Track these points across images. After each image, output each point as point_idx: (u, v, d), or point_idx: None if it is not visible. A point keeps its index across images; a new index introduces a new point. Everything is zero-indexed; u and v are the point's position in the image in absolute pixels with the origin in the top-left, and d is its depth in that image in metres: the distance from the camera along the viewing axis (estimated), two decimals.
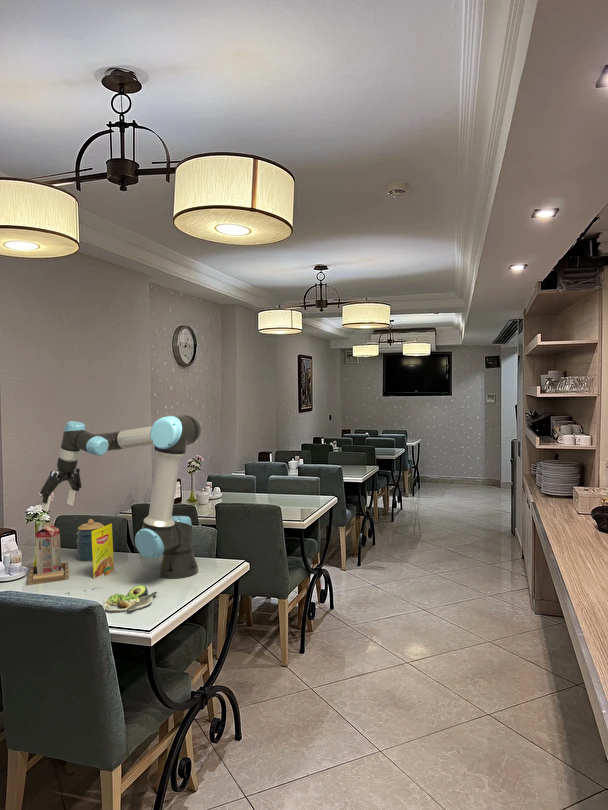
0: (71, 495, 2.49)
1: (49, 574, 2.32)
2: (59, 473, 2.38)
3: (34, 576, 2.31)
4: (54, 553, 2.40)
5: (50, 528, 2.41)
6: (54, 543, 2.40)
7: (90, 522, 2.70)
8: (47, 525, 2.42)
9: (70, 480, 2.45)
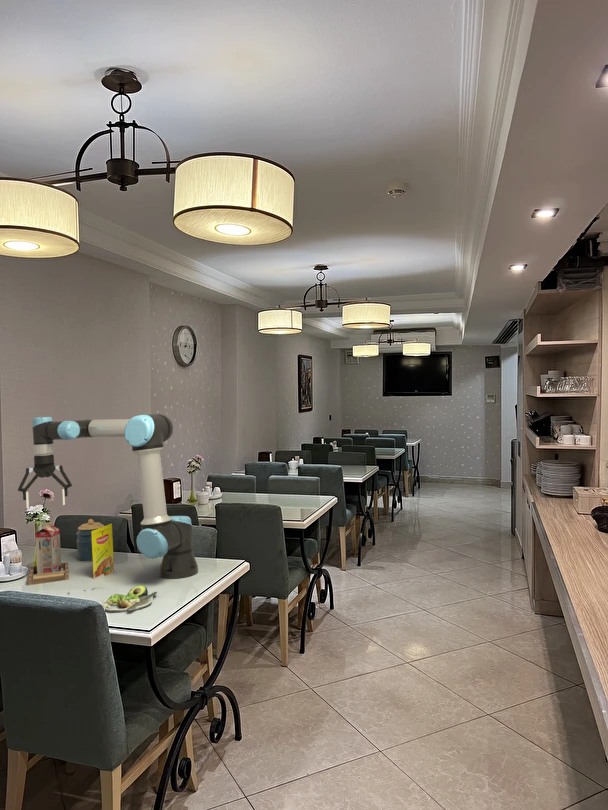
0: None
1: (49, 574, 2.32)
2: (33, 469, 2.40)
3: (34, 576, 2.31)
4: (54, 553, 2.40)
5: (50, 528, 2.41)
6: (54, 543, 2.40)
7: (90, 522, 2.70)
8: (47, 525, 2.42)
9: (53, 477, 2.43)
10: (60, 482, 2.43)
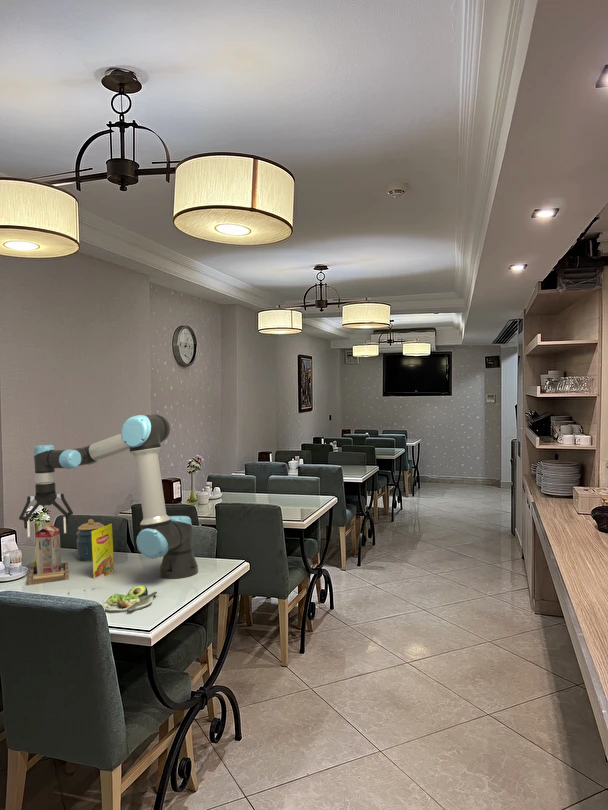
0: None
1: (49, 574, 2.33)
2: (35, 497, 2.40)
3: (34, 576, 2.31)
4: (54, 553, 2.40)
5: (50, 528, 2.41)
6: (54, 543, 2.40)
7: (90, 522, 2.70)
8: (47, 525, 2.42)
9: (54, 505, 2.43)
10: (61, 510, 2.43)
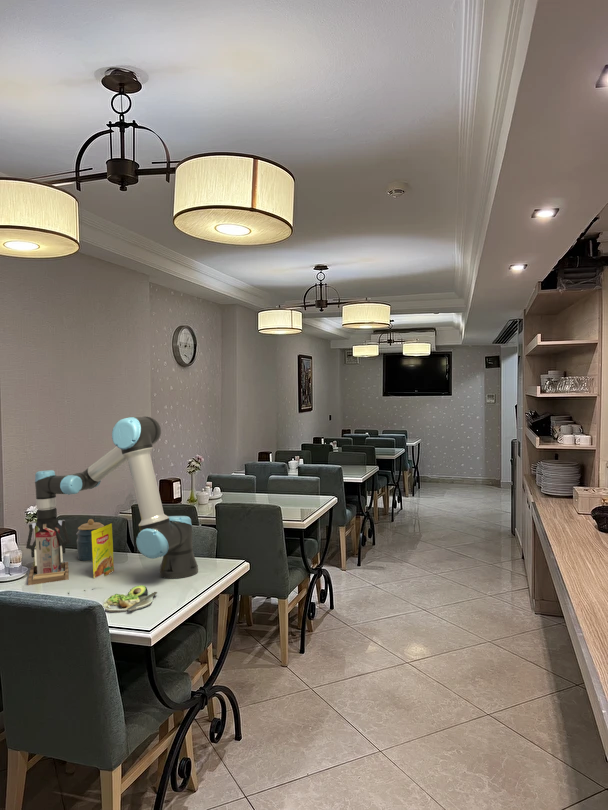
0: (60, 551, 2.44)
1: (49, 574, 2.32)
2: (36, 524, 2.40)
3: (34, 576, 2.31)
4: (54, 553, 2.40)
5: None
6: (53, 543, 2.40)
7: (90, 522, 2.70)
8: None
9: None
10: (59, 538, 2.43)
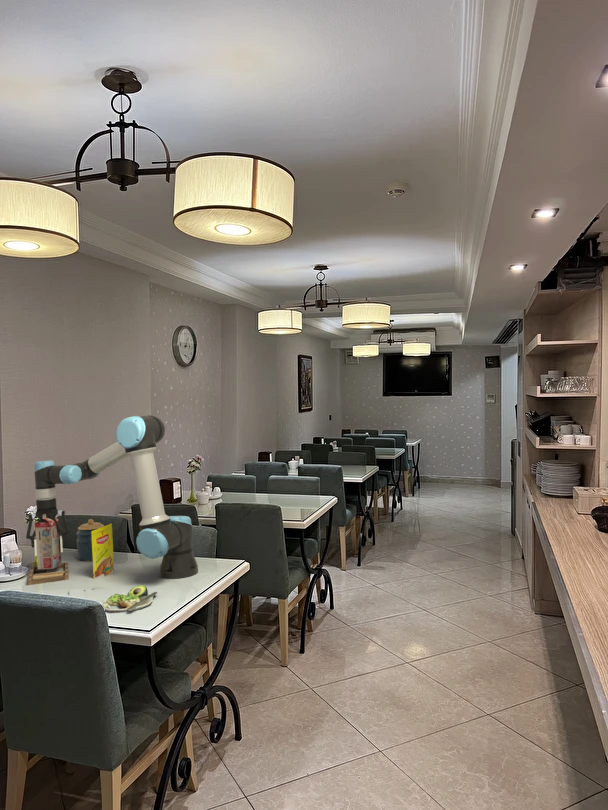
0: (60, 541, 2.44)
1: (49, 574, 2.33)
2: (36, 514, 2.40)
3: (34, 576, 2.31)
4: (54, 543, 2.40)
5: None
6: (53, 533, 2.40)
7: (90, 522, 2.70)
8: None
9: None
10: (59, 528, 2.42)
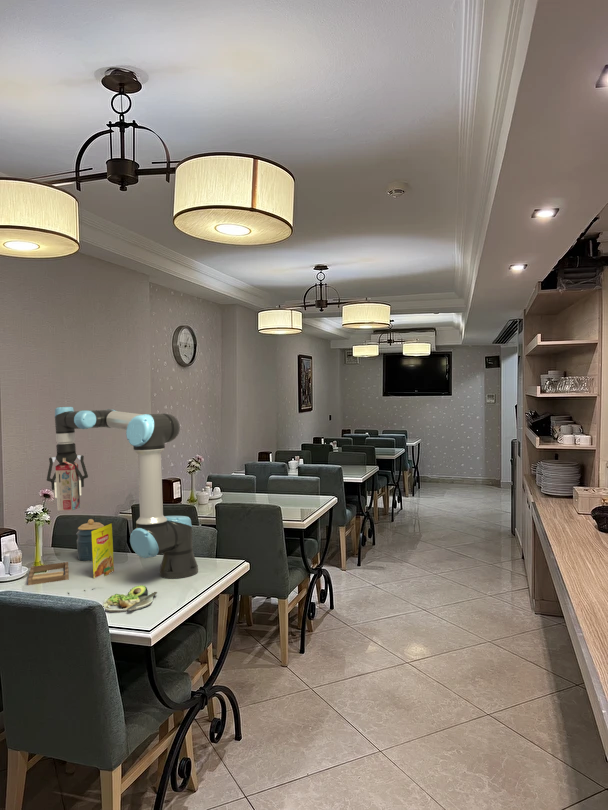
0: (79, 485, 2.52)
1: (48, 575, 2.32)
2: (56, 457, 2.48)
3: (33, 576, 2.30)
4: (73, 486, 2.49)
5: None
6: (73, 477, 2.49)
7: (90, 522, 2.70)
8: None
9: None
10: (78, 472, 2.51)
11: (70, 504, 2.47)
